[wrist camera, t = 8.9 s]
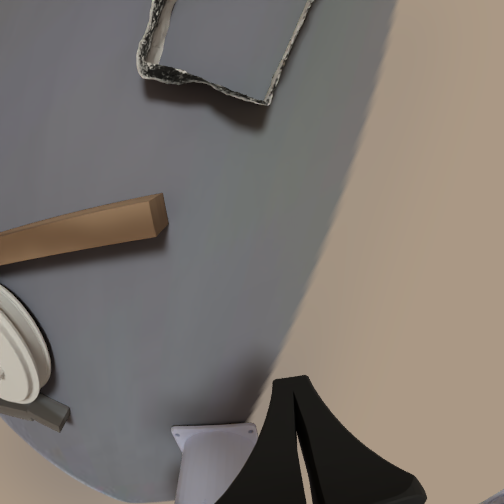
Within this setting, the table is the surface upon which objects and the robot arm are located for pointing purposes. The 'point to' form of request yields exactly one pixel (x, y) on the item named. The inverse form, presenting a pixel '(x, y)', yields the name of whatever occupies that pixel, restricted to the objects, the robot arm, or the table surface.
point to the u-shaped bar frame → (72, 239)
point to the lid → (20, 352)
